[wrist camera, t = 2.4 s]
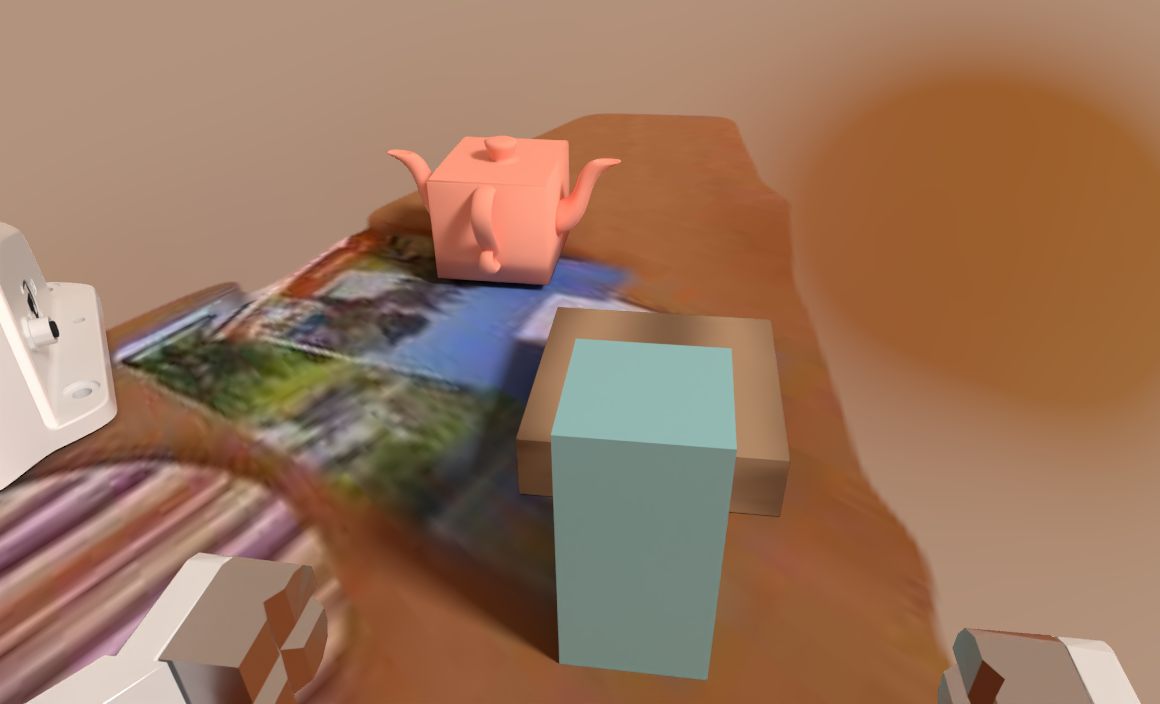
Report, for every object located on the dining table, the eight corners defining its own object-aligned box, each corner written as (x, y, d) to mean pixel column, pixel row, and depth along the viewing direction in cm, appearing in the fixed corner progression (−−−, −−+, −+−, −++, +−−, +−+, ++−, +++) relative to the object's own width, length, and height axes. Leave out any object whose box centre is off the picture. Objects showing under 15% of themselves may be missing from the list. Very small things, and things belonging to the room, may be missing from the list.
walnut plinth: (519, 493, 34) (515, 439, 32) (559, 354, 43) (557, 307, 41) (779, 516, 32) (789, 461, 31) (763, 368, 42) (770, 319, 40)
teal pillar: (559, 663, 27) (550, 434, 21) (578, 553, 31) (576, 338, 25) (707, 679, 26) (736, 449, 21) (706, 565, 30) (731, 348, 25)
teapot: (428, 220, 59) (414, 107, 54) (627, 231, 57) (630, 115, 52) (369, 296, 49) (346, 166, 44) (608, 312, 47) (610, 178, 42)
